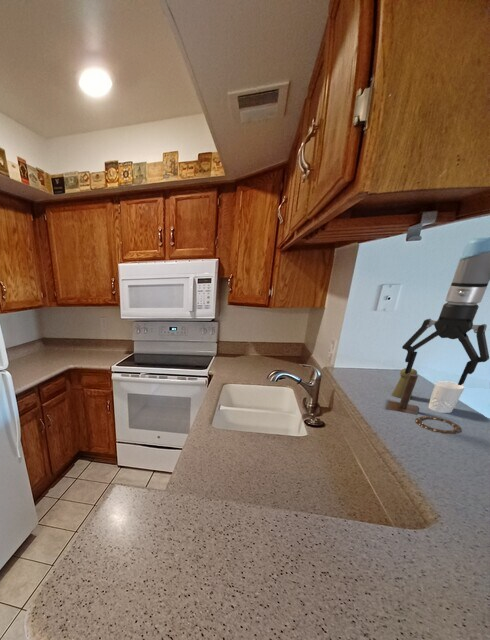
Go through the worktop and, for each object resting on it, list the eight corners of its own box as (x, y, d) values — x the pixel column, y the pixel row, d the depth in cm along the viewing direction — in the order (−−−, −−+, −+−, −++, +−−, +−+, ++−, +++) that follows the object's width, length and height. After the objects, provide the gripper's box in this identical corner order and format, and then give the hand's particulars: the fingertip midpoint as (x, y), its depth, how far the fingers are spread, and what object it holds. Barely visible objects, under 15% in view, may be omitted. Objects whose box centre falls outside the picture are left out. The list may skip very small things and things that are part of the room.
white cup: (444, 417, 112) (456, 390, 108) (420, 409, 119) (430, 383, 114) (457, 413, 115) (469, 386, 110) (433, 405, 122) (444, 379, 117)
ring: (458, 426, 107) (461, 421, 106) (461, 441, 98) (463, 436, 97) (414, 417, 113) (416, 412, 112) (412, 431, 104) (415, 426, 103)
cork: (389, 395, 130) (398, 369, 125) (394, 391, 134) (403, 365, 129) (407, 399, 127) (417, 372, 121) (411, 395, 130) (421, 368, 125)
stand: (416, 409, 119) (430, 373, 112) (415, 418, 112) (430, 381, 106) (387, 404, 123) (399, 369, 117) (385, 412, 117) (397, 376, 110)
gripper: (404, 300, 96) (383, 371, 106) (521, 309, 78) (482, 392, 88) (414, 298, 100) (392, 366, 110) (528, 306, 82) (489, 386, 92)
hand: (432, 378), depth 99 cm, fingers open, 13 cm apart
